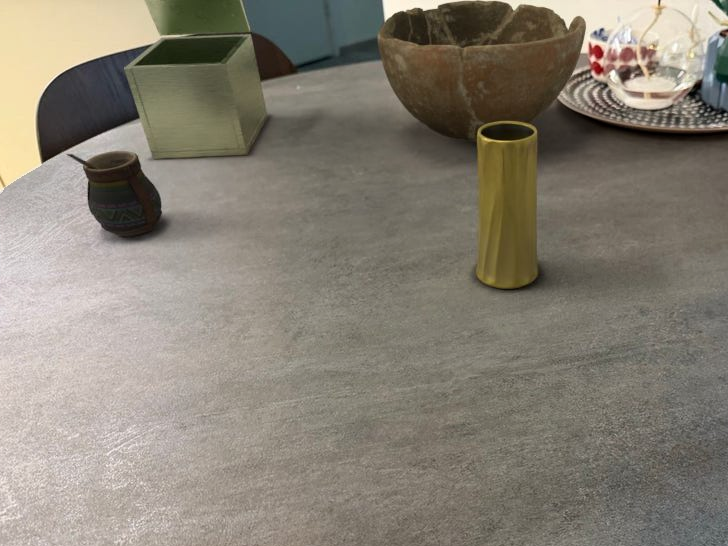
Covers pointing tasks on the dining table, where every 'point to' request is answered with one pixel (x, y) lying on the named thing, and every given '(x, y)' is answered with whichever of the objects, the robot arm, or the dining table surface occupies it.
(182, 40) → the bin
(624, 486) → the dining table surface
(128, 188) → the mate gourd
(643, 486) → the dining table surface
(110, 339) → the dining table surface
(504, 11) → the bowl
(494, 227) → the vase
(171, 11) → the bin lid
